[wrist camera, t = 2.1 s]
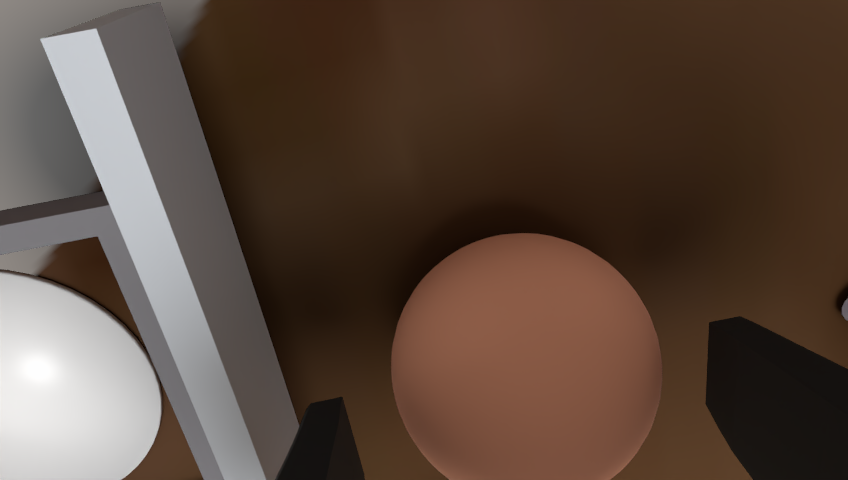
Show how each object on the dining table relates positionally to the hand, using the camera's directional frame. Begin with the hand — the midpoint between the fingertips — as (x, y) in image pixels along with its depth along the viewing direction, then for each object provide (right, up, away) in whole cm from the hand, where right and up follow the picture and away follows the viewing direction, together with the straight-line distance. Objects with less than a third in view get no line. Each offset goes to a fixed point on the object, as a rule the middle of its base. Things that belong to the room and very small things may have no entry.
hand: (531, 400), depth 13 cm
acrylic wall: (-6, +1, +3) cm, 7 cm away
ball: (0, +1, +1) cm, 1 cm away
